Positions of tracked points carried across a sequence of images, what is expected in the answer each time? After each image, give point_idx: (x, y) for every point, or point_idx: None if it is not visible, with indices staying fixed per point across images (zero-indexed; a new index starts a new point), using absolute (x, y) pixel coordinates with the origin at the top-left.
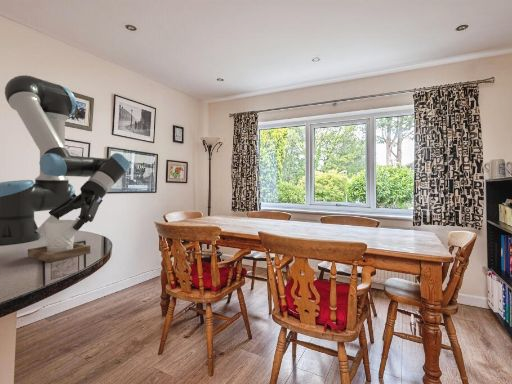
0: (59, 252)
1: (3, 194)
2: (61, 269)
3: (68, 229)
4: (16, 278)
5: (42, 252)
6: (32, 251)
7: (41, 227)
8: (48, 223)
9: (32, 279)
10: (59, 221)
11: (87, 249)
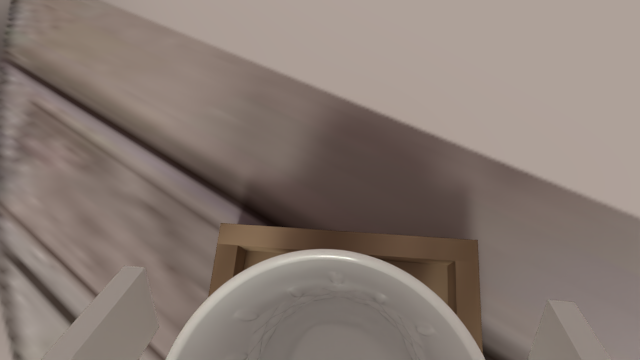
0: (213, 275)
1: None
2: (91, 187)
3: (82, 319)
4: (165, 58)
5: (307, 231)
6: (418, 238)
7: (571, 351)
8: (297, 251)
9: (100, 75)
10: None
11: None
